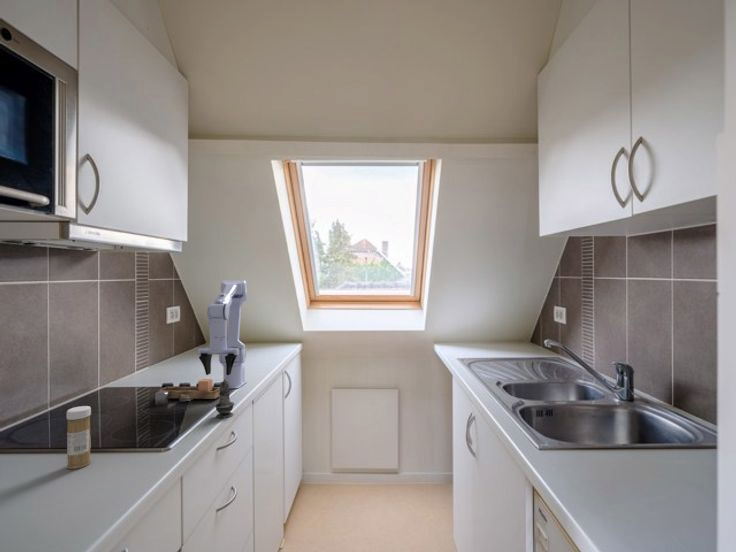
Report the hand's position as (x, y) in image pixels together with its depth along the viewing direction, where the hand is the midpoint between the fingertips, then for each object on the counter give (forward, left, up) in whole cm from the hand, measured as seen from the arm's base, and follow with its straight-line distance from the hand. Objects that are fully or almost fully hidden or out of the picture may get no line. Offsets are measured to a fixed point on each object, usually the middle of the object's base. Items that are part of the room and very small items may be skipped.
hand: (218, 374), depth 136 cm
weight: (+3, -19, -10) cm, 22 cm away
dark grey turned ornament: (+14, +9, -10) cm, 19 cm away
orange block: (-3, -6, -7) cm, 10 cm away
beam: (-3, -12, -10) cm, 16 cm away
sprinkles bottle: (+48, -11, -10) cm, 50 cm away
